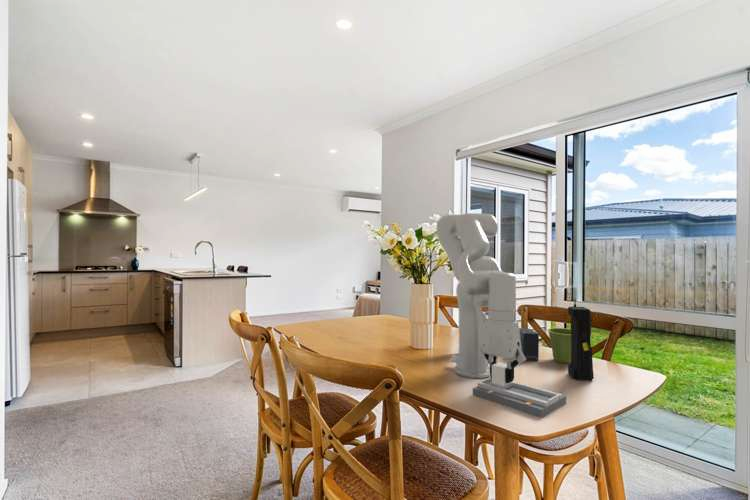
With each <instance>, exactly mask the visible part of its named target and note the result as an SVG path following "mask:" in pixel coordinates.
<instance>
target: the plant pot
mask: <svg viewBox="0 0 750 500" xmlns="http://www.w3.org/2000/svg"><path fill="white" fill-rule="evenodd" d="M546 331H547V332H548V335H549V336H548V337H549V338H550V345H551V352H552V358H553V360H554V361H555V362H558V363H562V364H566V363H567V364H570V363H571V328H564V327H551V328H548V329H546Z"/></svg>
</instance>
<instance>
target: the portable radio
mask: <svg viewBox="0 0 750 500" xmlns="http://www.w3.org/2000/svg"><path fill="white" fill-rule="evenodd" d="M573 300H574V304H573V306H568V307H567V315H568V316H570V329H571V363H567V374H568V375H569V377H571V378H572V379H573V380H577V381H587V380H589V381H590V382H591V381H593V380H594V378H595V377H594V376H595V375H594V366H593V365H594V364H593V363H594V362H593V347H592V346H591V335H592V310H590V308H587V307H585V306H577V304H576V303H577V302H576V300H577V299H576V298H574V299H573Z"/></svg>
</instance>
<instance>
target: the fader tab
mask: <svg viewBox="0 0 750 500" xmlns="http://www.w3.org/2000/svg"><path fill="white" fill-rule="evenodd" d="M506 368H507V363H503V362H497V363H496V364H493V365H492V383H490V385H492V386H495V387H499V388H502V389H507V388H509V387H512V386H513V382H510V383H506V382H505V370H506Z"/></svg>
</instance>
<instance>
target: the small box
mask: <svg viewBox="0 0 750 500" xmlns="http://www.w3.org/2000/svg"><path fill="white" fill-rule="evenodd" d="M519 330H520V338H521V351H522V352H523V354H524V356H525V358H526V360H525V361H524V362H526V361H527V362H528V361H530V362H531V361H533V362H538V361H539V359H540V358H539V357H540V355H539V352H540V351H539V348H540V347H539V346H540V345H539V344H540V343H539V342H540V338H539V337H540V333H538V332H537V331H534V330H532V329H530V328H520V327H519ZM516 358H518V356H516Z"/></svg>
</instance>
